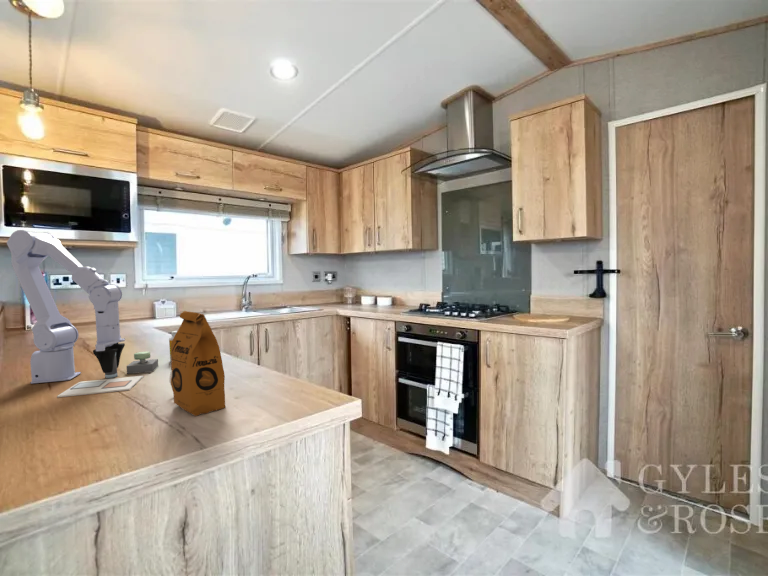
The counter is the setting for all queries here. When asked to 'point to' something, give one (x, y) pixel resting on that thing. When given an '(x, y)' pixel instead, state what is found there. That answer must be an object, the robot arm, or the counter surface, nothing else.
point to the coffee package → (197, 366)
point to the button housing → (142, 366)
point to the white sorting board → (101, 386)
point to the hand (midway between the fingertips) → (110, 370)
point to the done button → (142, 356)
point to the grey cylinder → (114, 372)
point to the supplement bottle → (171, 340)
